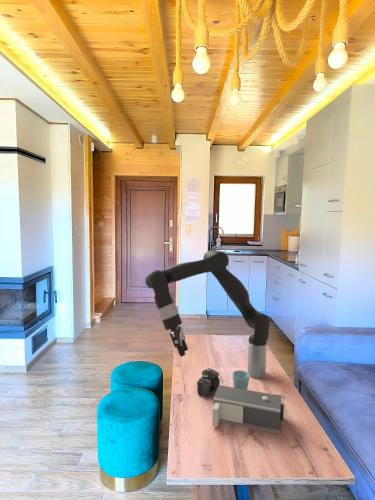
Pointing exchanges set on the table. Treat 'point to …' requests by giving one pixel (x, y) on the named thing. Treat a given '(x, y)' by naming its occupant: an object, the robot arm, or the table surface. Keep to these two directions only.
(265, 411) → the grey box
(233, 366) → the table surface
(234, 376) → the cup
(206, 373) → the camera
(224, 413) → the side door
